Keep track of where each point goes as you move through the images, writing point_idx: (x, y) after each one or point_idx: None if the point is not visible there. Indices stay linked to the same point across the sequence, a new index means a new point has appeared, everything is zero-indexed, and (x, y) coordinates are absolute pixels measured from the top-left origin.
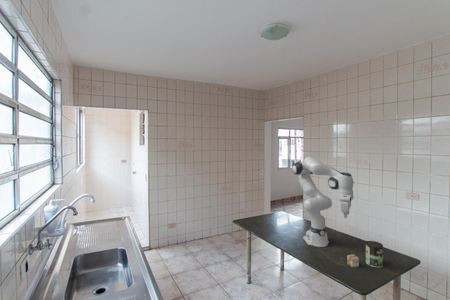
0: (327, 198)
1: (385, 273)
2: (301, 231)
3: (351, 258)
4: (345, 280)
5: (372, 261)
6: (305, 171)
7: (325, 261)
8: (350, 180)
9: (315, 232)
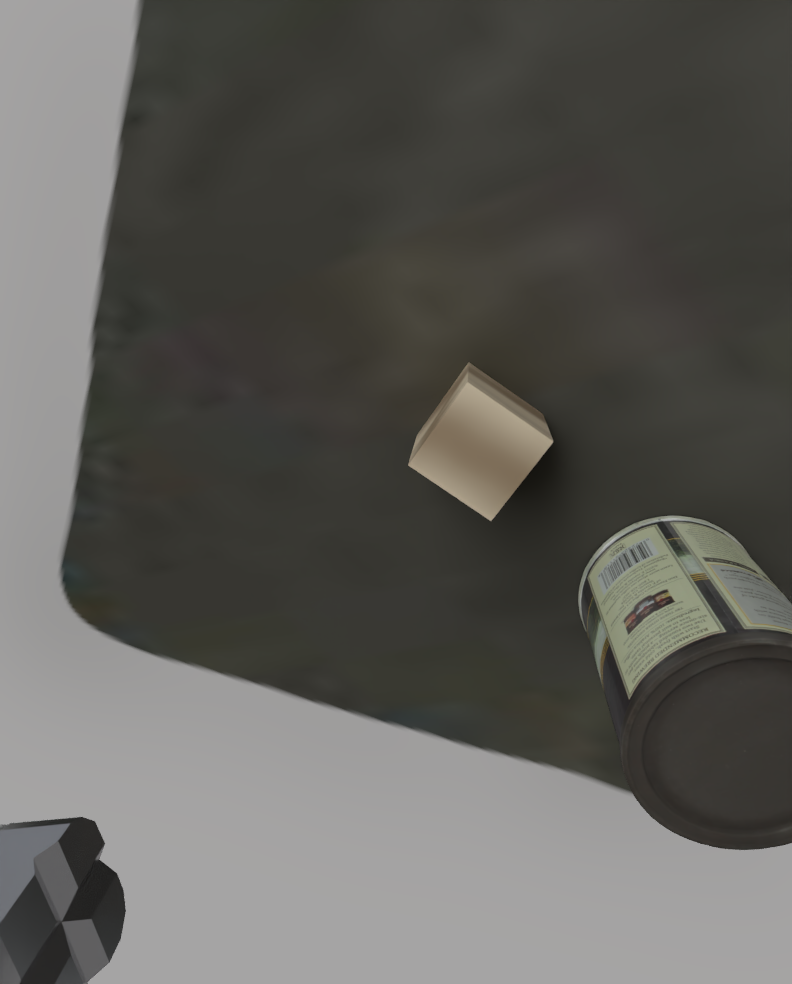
0: None
1: (514, 708)
2: None
3: (418, 451)
4: (106, 460)
5: (589, 624)
6: None
7: (329, 114)
8: None
9: None
